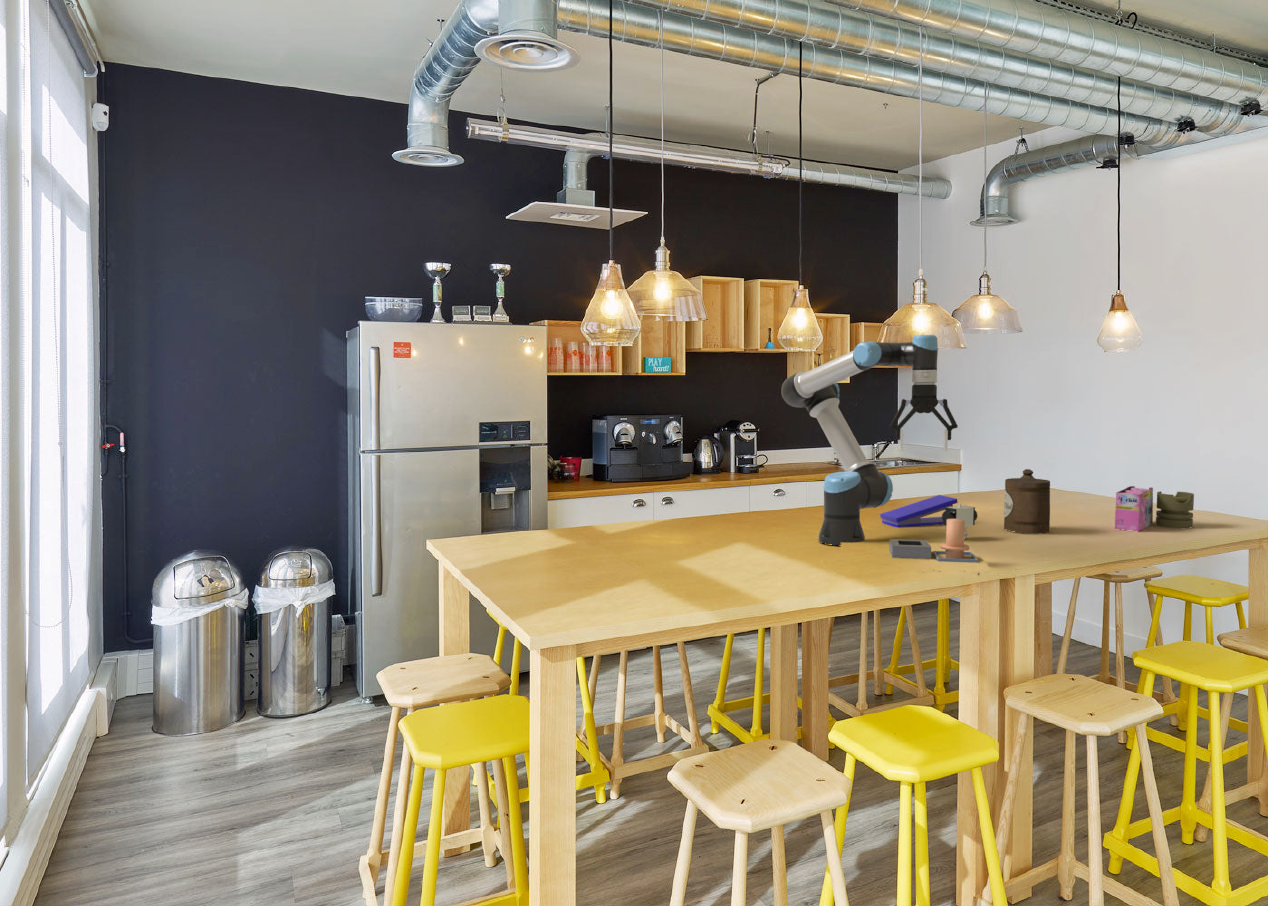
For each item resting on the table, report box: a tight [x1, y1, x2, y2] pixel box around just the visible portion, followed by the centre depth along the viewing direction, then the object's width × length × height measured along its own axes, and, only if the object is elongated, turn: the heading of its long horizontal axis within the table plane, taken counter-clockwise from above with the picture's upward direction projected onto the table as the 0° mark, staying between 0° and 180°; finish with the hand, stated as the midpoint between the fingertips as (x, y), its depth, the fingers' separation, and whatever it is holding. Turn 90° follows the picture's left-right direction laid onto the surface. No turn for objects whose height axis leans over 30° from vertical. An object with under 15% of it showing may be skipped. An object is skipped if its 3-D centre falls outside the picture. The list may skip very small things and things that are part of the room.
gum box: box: [1114, 485, 1154, 532], centre depth 307 cm, size 24×8×14 cm, turn 138°
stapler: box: [879, 494, 959, 529], centre depth 319 cm, size 12×28×10 cm, turn 108°
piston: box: [1155, 491, 1195, 529], centre depth 307 cm, size 11×12×11 cm
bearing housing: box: [888, 538, 932, 560], centre depth 256 cm, size 11×11×5 cm
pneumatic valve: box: [941, 503, 978, 539], centre depth 287 cm, size 6×12×12 cm, turn 114°
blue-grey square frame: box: [932, 550, 979, 563], centre depth 250 cm, size 11×11×2 cm
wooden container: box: [1003, 468, 1051, 534], centre depth 301 cm, size 15×15×22 cm
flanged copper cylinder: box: [939, 519, 970, 559], centre depth 250 cm, size 8×8×12 cm
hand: (923, 450), depth 270 cm, fingers open, 13 cm apart
